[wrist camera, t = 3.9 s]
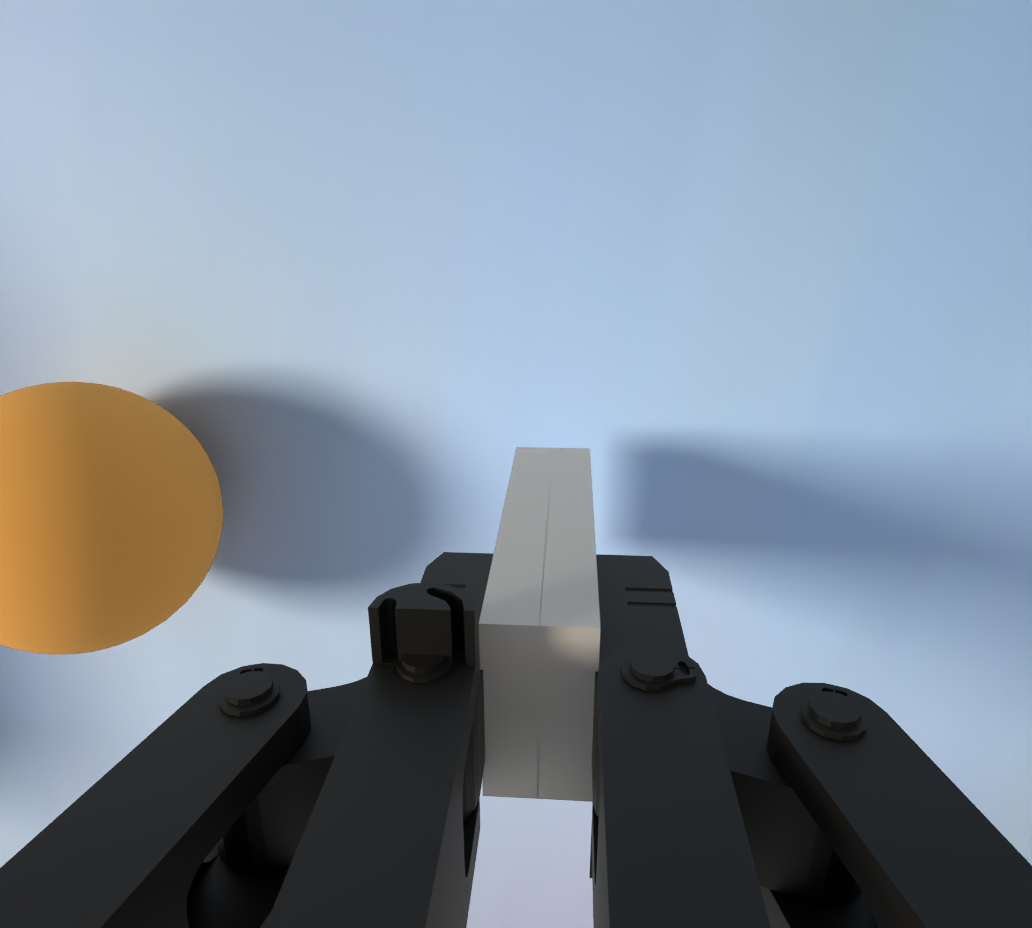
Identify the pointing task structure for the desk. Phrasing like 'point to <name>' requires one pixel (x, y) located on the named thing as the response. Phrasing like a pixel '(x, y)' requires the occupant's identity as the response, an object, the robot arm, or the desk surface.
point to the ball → (98, 517)
